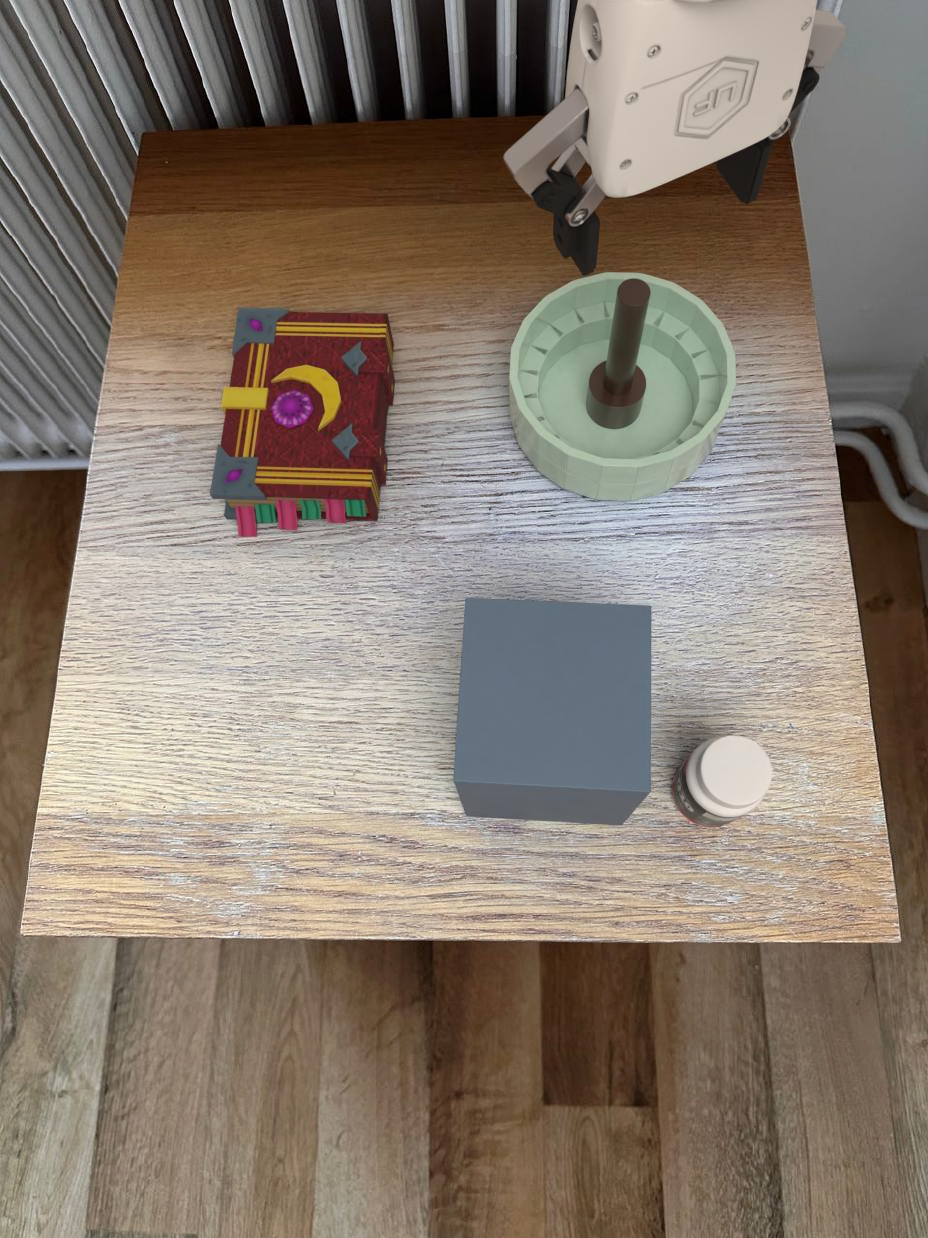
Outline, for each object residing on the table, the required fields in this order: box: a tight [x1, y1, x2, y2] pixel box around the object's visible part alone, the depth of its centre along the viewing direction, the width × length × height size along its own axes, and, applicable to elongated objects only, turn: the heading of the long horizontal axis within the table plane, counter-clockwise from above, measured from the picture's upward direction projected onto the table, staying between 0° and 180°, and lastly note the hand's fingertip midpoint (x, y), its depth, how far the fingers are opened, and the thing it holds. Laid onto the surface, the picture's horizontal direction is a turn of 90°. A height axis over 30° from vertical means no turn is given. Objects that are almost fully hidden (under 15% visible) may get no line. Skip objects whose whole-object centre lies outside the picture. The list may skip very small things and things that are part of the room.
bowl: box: [508, 271, 737, 502], centre depth 69 cm, size 15×15×6 cm
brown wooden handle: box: [586, 278, 651, 429], centre depth 65 cm, size 4×4×13 cm
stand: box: [452, 597, 652, 826], centre depth 58 cm, size 10×10×14 cm
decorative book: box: [209, 306, 396, 538], centre depth 70 cm, size 11×16×5 cm
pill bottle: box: [671, 734, 773, 829], centre depth 59 cm, size 5×5×8 cm
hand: (656, 219), depth 53 cm, fingers open, 9 cm apart
